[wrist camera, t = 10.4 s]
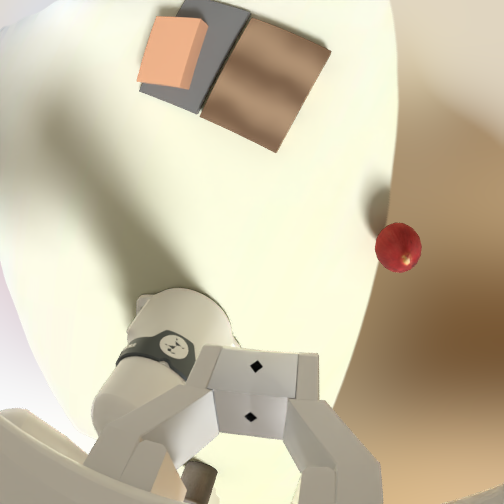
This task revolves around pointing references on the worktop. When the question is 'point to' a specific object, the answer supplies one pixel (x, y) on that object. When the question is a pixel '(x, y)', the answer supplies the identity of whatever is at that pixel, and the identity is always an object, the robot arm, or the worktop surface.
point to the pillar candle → (198, 482)
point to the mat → (204, 52)
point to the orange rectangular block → (172, 51)
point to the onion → (398, 247)
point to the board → (265, 83)
